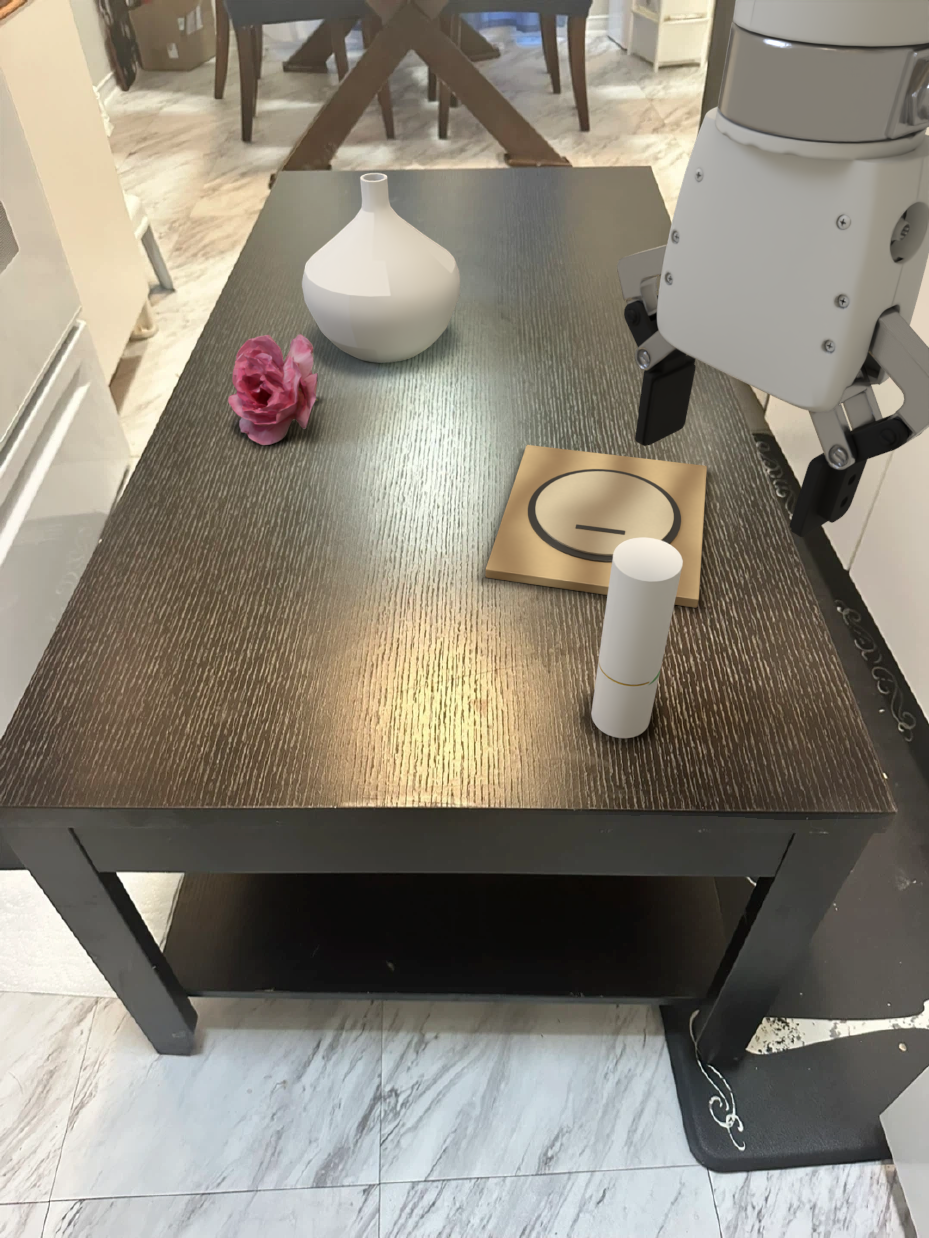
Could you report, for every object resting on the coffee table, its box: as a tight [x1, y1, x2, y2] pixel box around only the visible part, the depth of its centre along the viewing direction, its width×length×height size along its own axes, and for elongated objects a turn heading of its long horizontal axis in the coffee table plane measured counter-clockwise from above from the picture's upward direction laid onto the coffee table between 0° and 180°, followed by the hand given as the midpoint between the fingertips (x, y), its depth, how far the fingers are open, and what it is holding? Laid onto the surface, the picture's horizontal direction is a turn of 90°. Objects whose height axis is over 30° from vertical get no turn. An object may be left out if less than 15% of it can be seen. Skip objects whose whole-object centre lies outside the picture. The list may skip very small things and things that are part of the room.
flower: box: [227, 333, 319, 446], centre depth 93 cm, size 11×10×10 cm
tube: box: [591, 537, 683, 739], centre depth 60 cm, size 4×4×15 cm
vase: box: [301, 172, 461, 364], centre depth 102 cm, size 18×18×19 cm
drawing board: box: [485, 444, 708, 609], centre depth 82 cm, size 18×20×2 cm
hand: (732, 476), depth 44 cm, fingers open, 9 cm apart
